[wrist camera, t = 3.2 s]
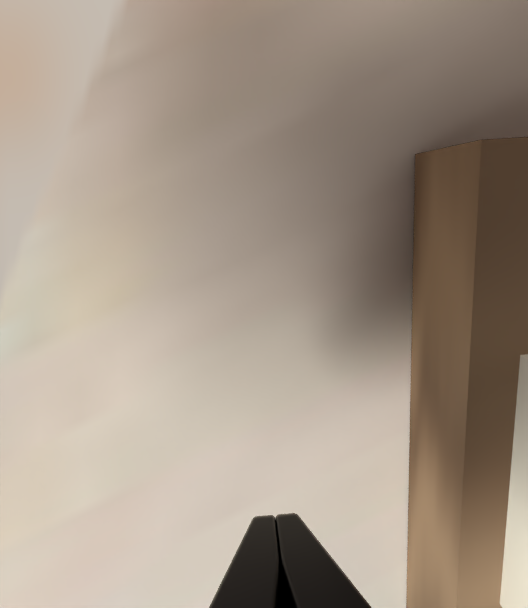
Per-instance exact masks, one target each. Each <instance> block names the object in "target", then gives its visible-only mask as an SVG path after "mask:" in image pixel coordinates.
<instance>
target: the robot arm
mask: <svg viewBox="0 0 528 608" xmlns="http://www.w3.org/2000/svg"><path fill="white" fill-rule="evenodd" d="M209 608H371V606H370V605H369V604H368V603H367V601H366V600H365V599H364V598H363V596H362V595H361V594H360V593H359V591H358V590H357V589H356V587H355V586H354V585H353V584H352V582H351V581H350V580H349V579H348V577H347V576H346V575H345V574H344V572H343V571H342V570H341V569H340V567H339V566H338V565H337V564H336V562H335V561H334V560H333V559H332V557H331V556H330V555H329V554H328V552H327V551H326V550H325V549H324V547H323V546H322V545H321V543H320V542H319V541H318V540H317V538H316V537H315V536H314V535H313V533H312V532H311V531H310V530H309V528H308V527H307V526H306V525H305V523H304V522H303V521H302V520H301V518H300V517H299V516H298V515H297V514H295V513H290V514H279V515H277V516H276V521H275V517H274V516H273V515H268V516H257V517H254V518H253V520H252V521H251V523H250V525H249V527H248V529H247V532H246V534H245V536H244V538H243V540H242V542H241V544H240V546H239V548H238V550H237V552H236V554H235V556H234V558H233V560H232V562H231V564H230V566H229V568H228V570H227V572H226V574H225V576H224V578H223V580H222V582H221V584H220V586H219V588H218V590H217V592H216V594H215V597H214V599H213V601H212V603H211V605H210V607H209Z"/></svg>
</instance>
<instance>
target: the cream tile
mask: <svg viewBox="0 0 528 608" xmlns="http://www.w3.org/2000/svg"><path fill="white" fill-rule="evenodd" d="M500 605H501V606H502V608H528V354H525V355H520V365H519V377H518V389H517V401H516V413H515V425H514V438H513V450H512V462H511V474H510V486H509V498H508V510H507V522H506V534H505V546H504V558H503V570H502V582H501V594H500Z"/></svg>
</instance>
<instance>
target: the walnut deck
mask: <svg viewBox="0 0 528 608" xmlns="http://www.w3.org/2000/svg"><path fill="white" fill-rule="evenodd" d="M525 354H528V137H518V138H502V139H486V140H478V141H474V142H469V143H464V144H460V145H455V146H451V147H446V148H441V149H437V150H432V151H428V152H423V153H418V154H415V195H414V247H413V298H412V349H411V401H410V452H409V503H408V554H407V606H406V608H502V606H501V605H500V594H501V582H502V570H503V558H504V546H505V534H506V522H507V510H508V498H509V486H510V474H511V462H512V450H513V438H514V425H515V413H516V401H517V389H518V377H519V365H520V355H525Z"/></svg>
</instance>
